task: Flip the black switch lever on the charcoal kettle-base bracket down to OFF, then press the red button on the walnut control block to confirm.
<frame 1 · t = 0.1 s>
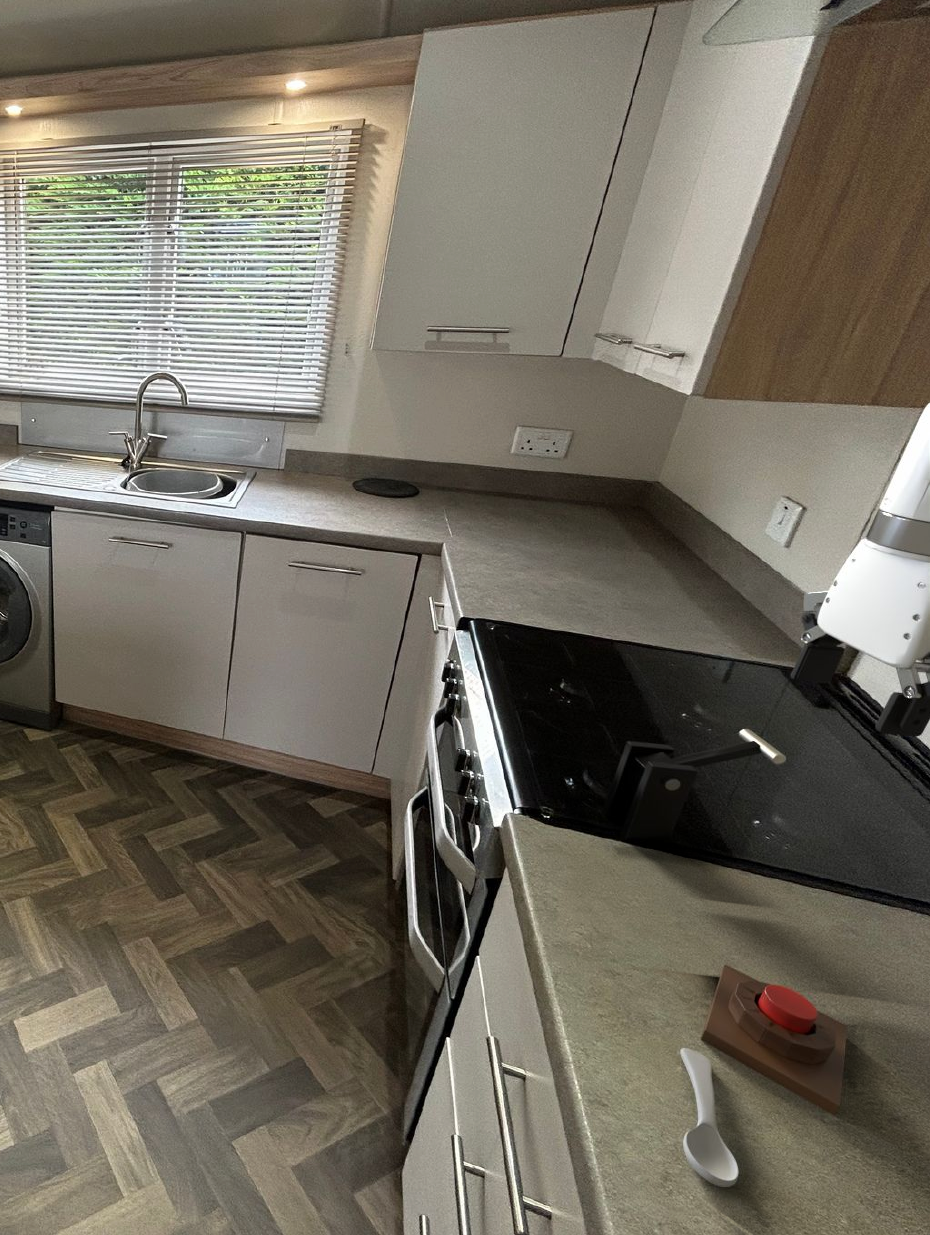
hand: (850, 705, 68), 23 cm above the countertop, tool pointing down, fingers open, 9 cm apart
control block: (771, 1037, 60), on the countertop
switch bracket: (629, 838, 83), on the countertop
switch lever: (703, 758, 78), point 12 cm above the countertop, hinge at 25.0°
power button: (787, 1008, 59), point 3 cm above the countertop, slide at 0.1 cm
spoon: (699, 1120, 54), on the countertop
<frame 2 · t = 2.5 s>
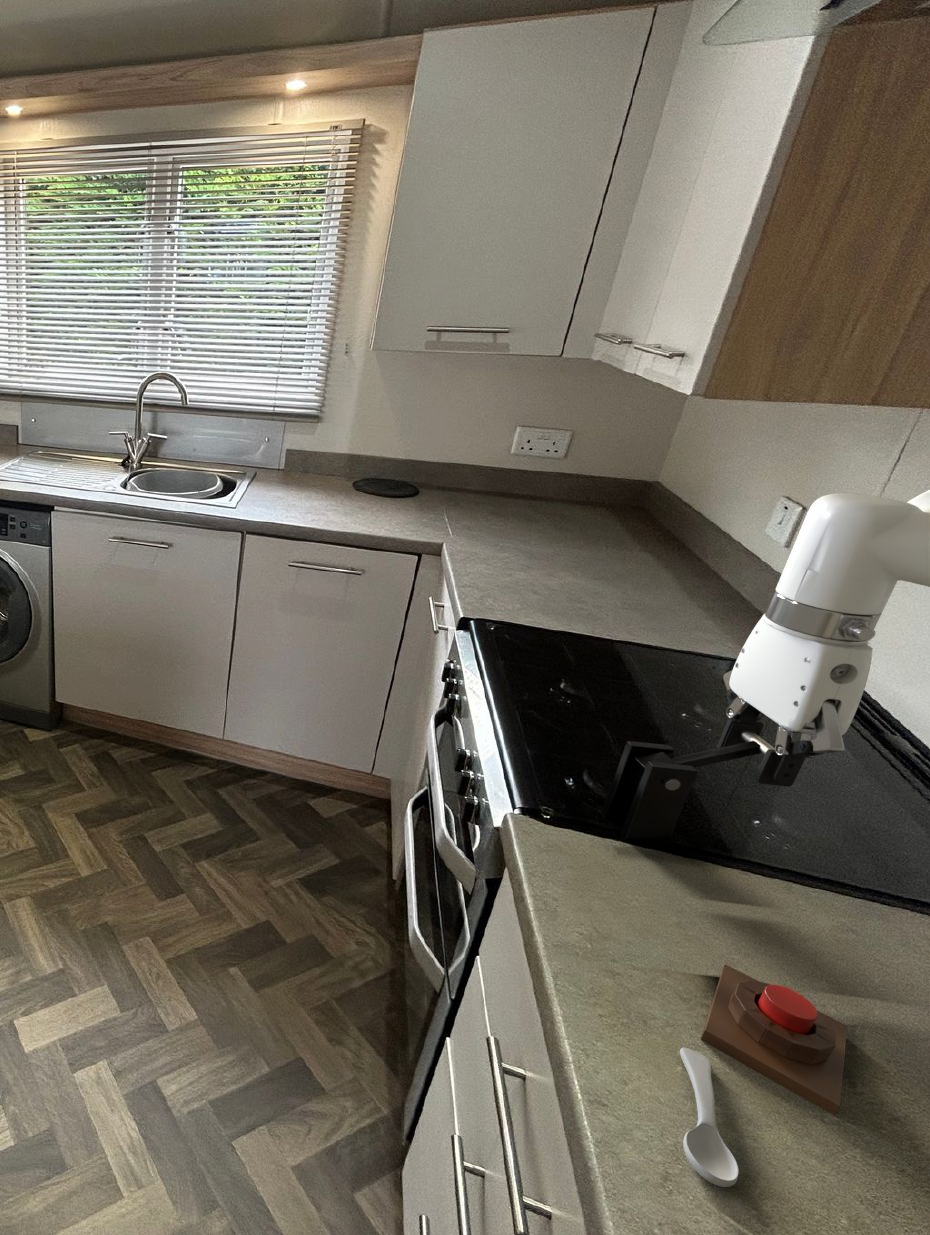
hand: (752, 765, 77), 12 cm above the countertop, tool pointing down, fingers closed on switch lever, 5 cm apart
switch lever: (703, 758, 78), point 12 cm above the countertop, hinge at 25.0°, touching gripper
everything else where it was.
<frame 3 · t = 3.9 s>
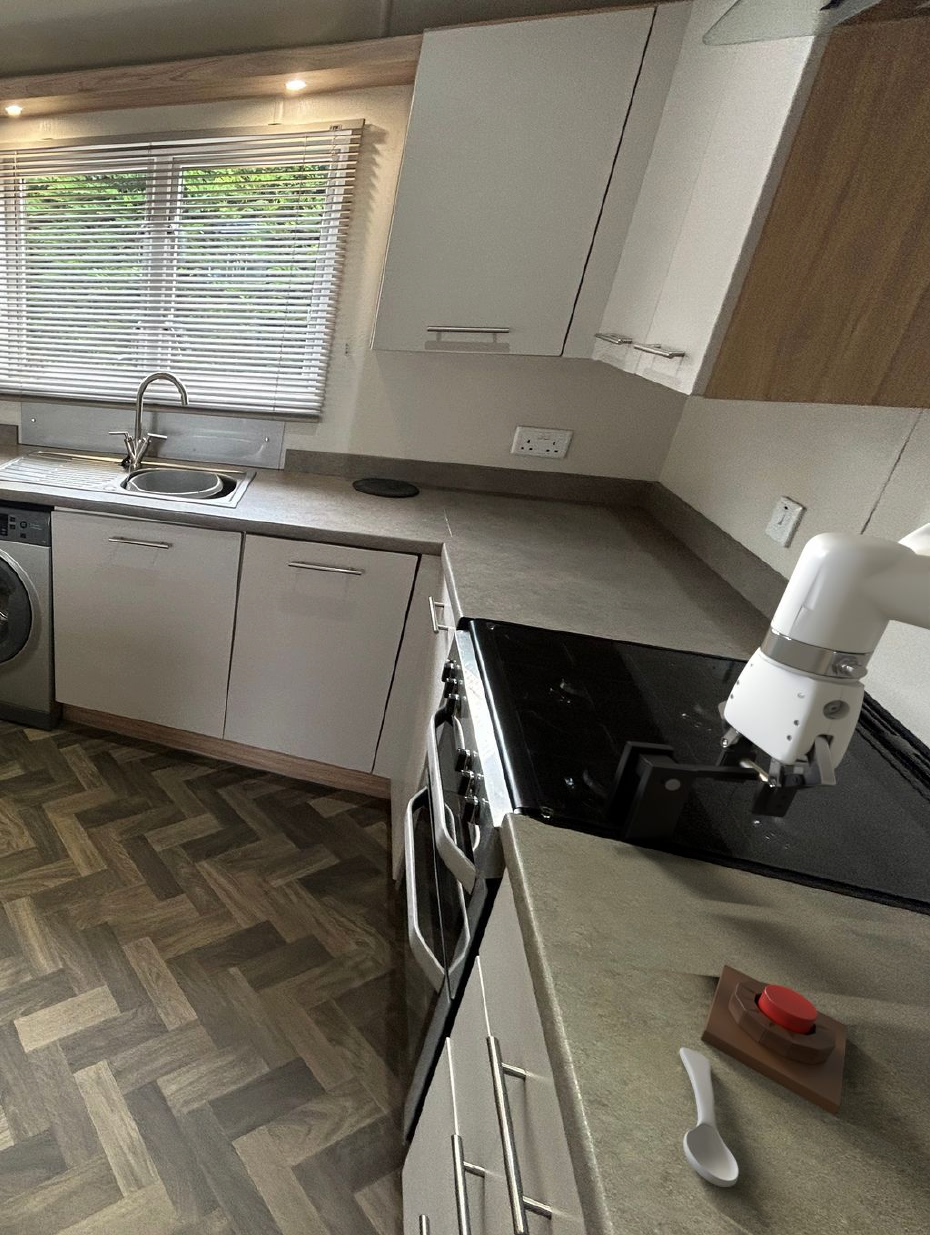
hand: (746, 795, 78), 8 cm above the countertop, tool pointing down, fingers closed on switch lever, 5 cm apart
switch lever: (702, 771, 78), point 10 cm above the countertop, hinge at 3.5°, touching gripper
everything else where it was.
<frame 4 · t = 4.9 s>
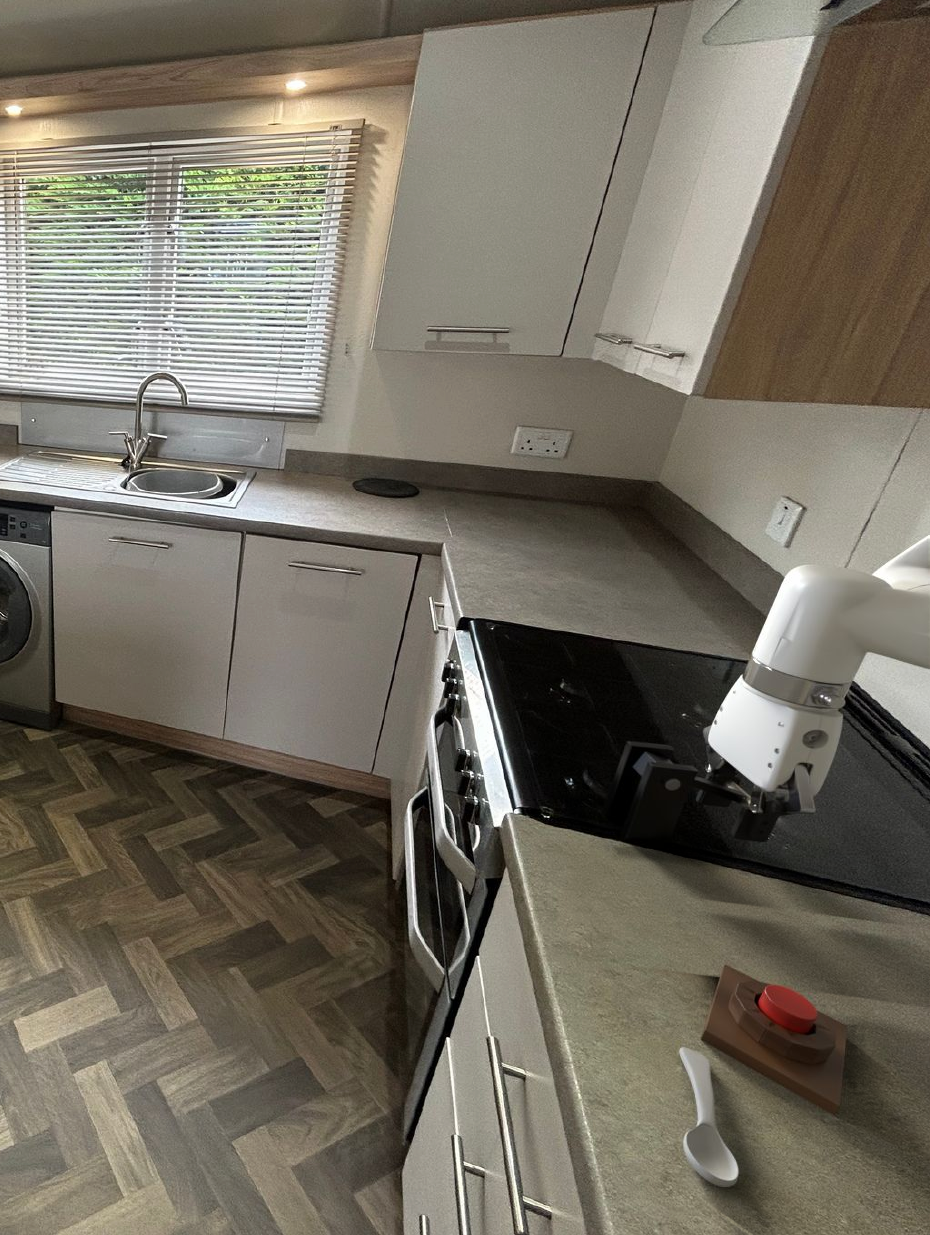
hand: (729, 819, 80), 4 cm above the countertop, tool pointing down, fingers closed on switch lever, 5 cm apart
switch lever: (696, 782, 79), point 9 cm above the countertop, hinge at -15.7°, touching gripper
everything else where it was.
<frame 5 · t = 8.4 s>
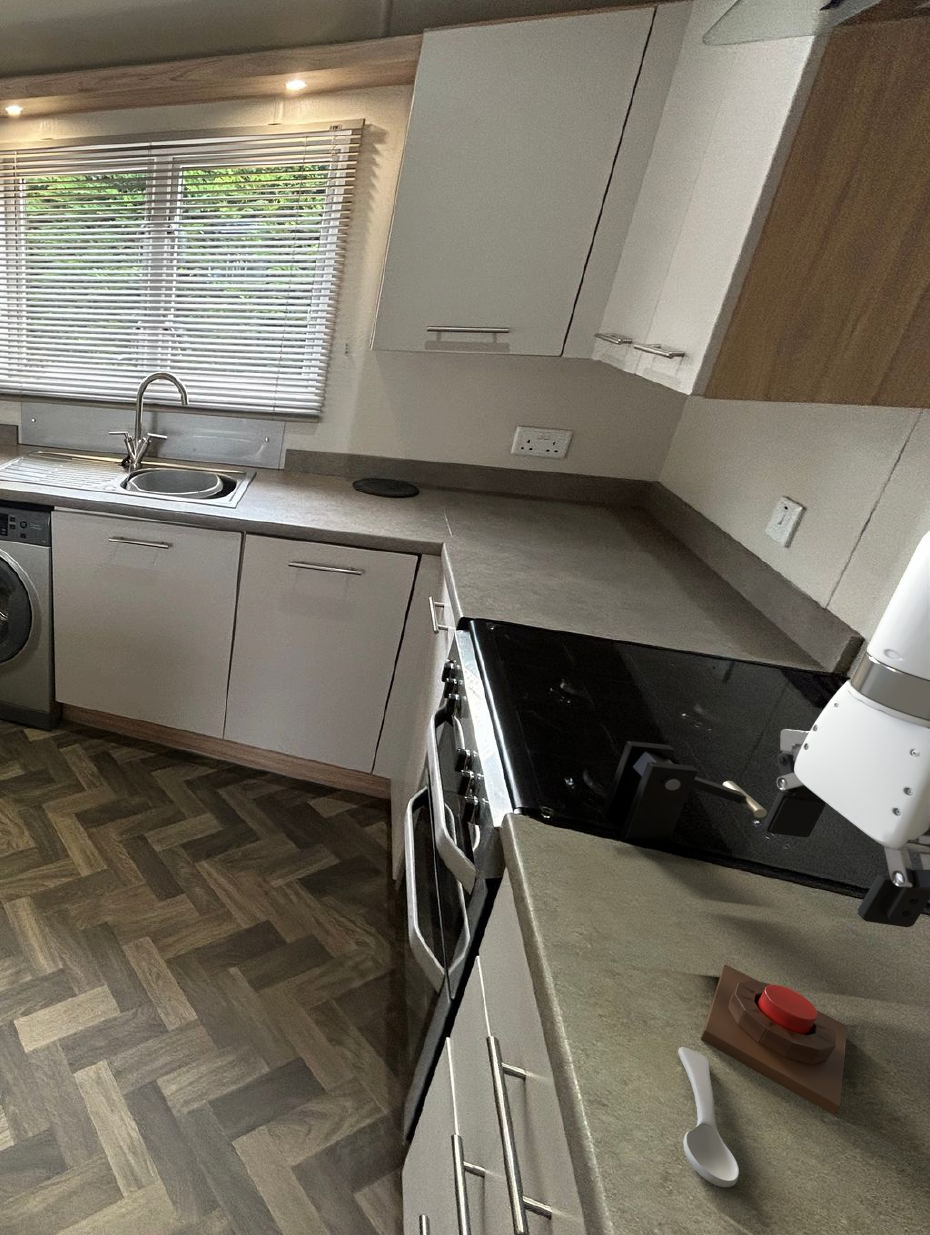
hand: (830, 873, 57), 15 cm above the countertop, tool pointing down, fingers open, 9 cm apart
switch lever: (696, 782, 79), point 9 cm above the countertop, hinge at -16.0°
everything else where it was.
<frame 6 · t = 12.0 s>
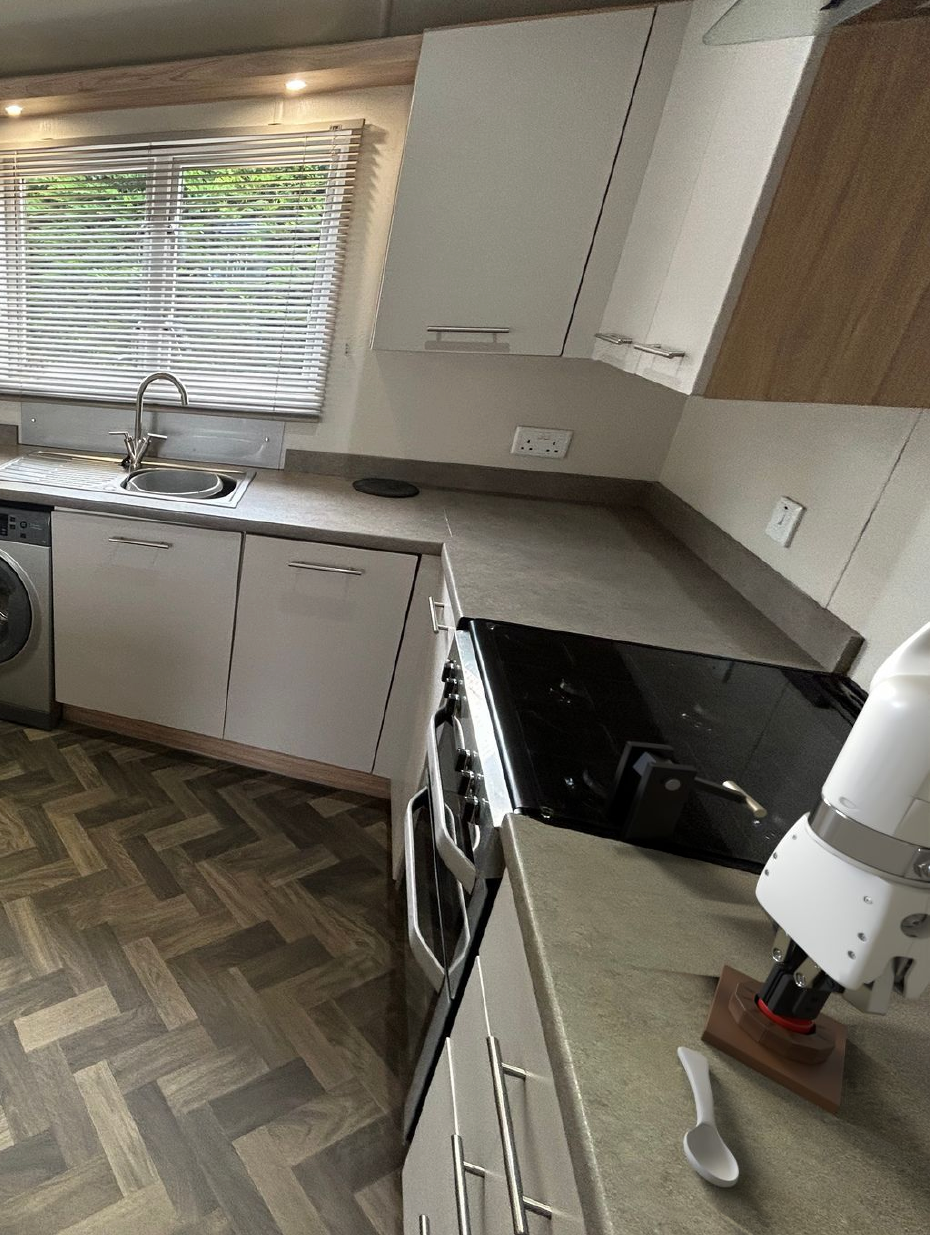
hand: (785, 1008, 59), 4 cm above the countertop, tool pointing down, fingers closed
power button: (783, 1016, 59), point 3 cm above the countertop, slide at -0.8 cm, touching gripper
everything else where it was.
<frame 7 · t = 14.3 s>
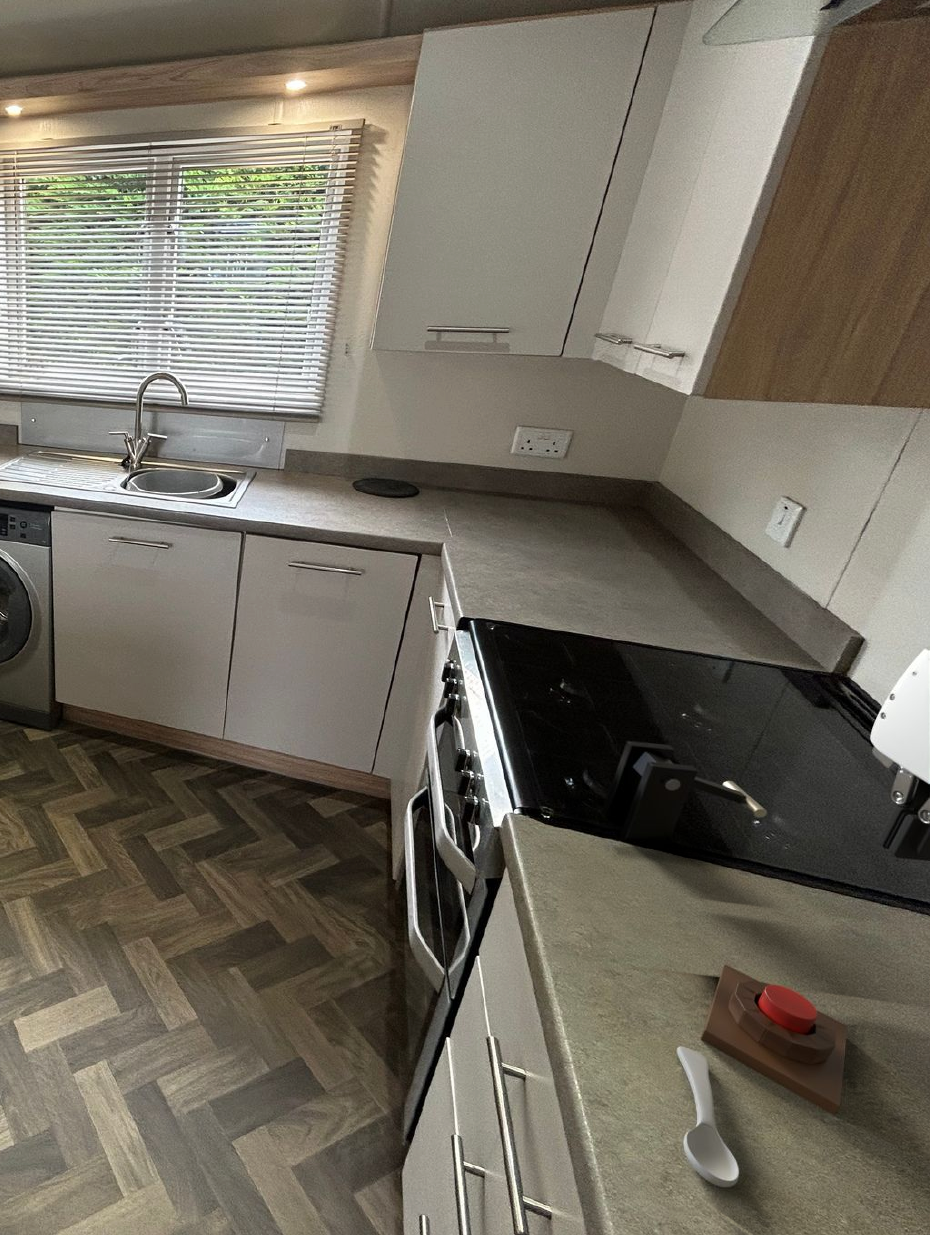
hand: (907, 852, 58), 17 cm above the countertop, tool pointing down, fingers closed
power button: (787, 1008, 59), point 3 cm above the countertop, slide at 0.1 cm
everything else where it was.
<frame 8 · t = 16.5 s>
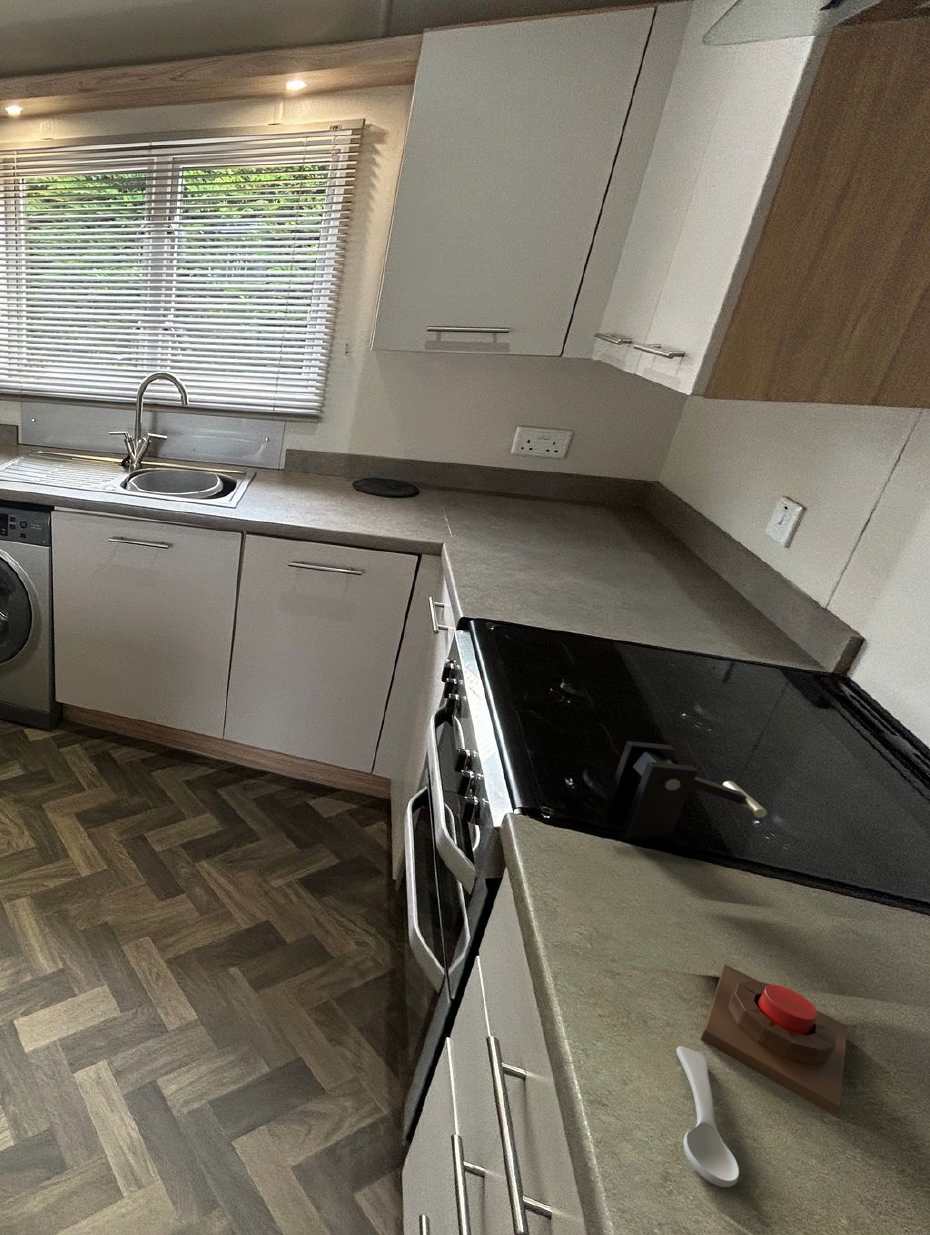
nothing on the countertop moved.
at the end: switch lever at -16° (first picture: +25°); power button pushed in 1.1 cm at the most during the clip, back to where it started at the end; power button slide at 0.1 cm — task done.
